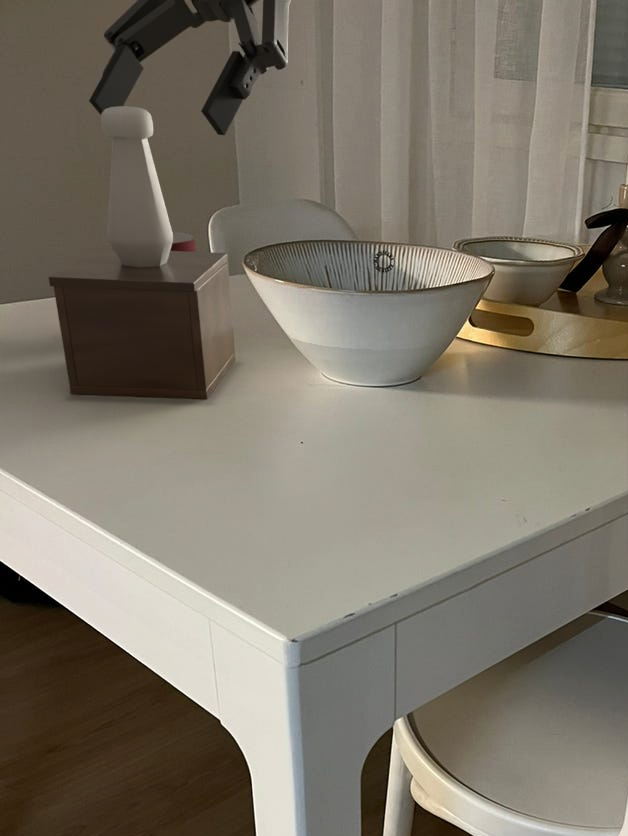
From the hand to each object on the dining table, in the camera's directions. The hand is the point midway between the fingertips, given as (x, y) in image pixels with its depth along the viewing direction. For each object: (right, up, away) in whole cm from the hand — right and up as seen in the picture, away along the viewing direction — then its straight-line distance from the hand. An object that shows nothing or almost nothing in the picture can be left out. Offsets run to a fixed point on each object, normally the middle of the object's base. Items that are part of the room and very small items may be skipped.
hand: (155, 118), depth 92 cm
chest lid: (-2, -13, +4) cm, 13 cm away
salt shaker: (-2, -12, +4) cm, 13 cm away
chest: (-3, -21, +9) cm, 23 cm away
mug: (-7, -11, +25) cm, 29 cm away
